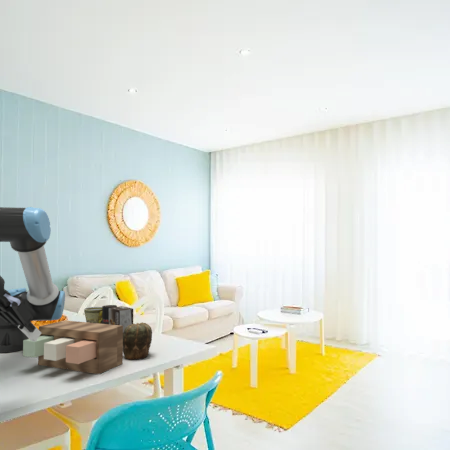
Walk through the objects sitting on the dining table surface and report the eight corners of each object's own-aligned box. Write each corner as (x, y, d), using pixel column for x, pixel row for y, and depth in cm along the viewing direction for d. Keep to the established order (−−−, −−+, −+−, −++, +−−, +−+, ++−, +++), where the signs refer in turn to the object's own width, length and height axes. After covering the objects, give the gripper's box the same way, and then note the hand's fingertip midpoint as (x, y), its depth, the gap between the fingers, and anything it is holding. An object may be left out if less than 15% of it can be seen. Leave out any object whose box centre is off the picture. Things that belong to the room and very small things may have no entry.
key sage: (22, 356, 130) (23, 340, 130) (45, 349, 139) (45, 334, 139) (34, 357, 128) (34, 341, 129) (56, 350, 137) (56, 335, 137)
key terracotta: (65, 362, 123) (65, 345, 124) (86, 354, 132) (86, 339, 132) (78, 364, 121) (78, 347, 122) (98, 356, 130) (98, 340, 130)
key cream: (43, 359, 127) (44, 343, 127) (65, 352, 135) (65, 336, 135) (55, 360, 125) (56, 344, 125) (76, 353, 133) (77, 338, 133)
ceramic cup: (79, 329, 195) (80, 308, 196) (97, 326, 203) (97, 306, 204) (95, 333, 187) (96, 311, 188) (113, 329, 195) (113, 308, 196)
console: (38, 364, 137) (38, 326, 138) (64, 355, 149) (65, 320, 149) (98, 374, 127) (99, 332, 128) (122, 363, 138) (122, 325, 139)
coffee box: (134, 349, 157) (134, 308, 158) (119, 352, 153) (119, 310, 154) (121, 345, 164) (122, 305, 165) (107, 348, 159) (107, 307, 160)
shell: (158, 354, 150) (158, 322, 151) (137, 362, 141) (138, 327, 141) (136, 350, 156) (136, 319, 156) (115, 357, 146) (115, 324, 147)
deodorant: (112, 343, 167) (112, 307, 167) (99, 343, 168) (99, 306, 169) (118, 340, 173) (119, 305, 173) (106, 339, 174) (106, 304, 174)
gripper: (-50, 291, 95) (10, 346, 110) (-12, 294, 90) (46, 351, 105) (-27, 268, 101) (27, 323, 115) (10, 269, 95) (62, 327, 110)
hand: (36, 336), depth 110 cm, fingers closed
